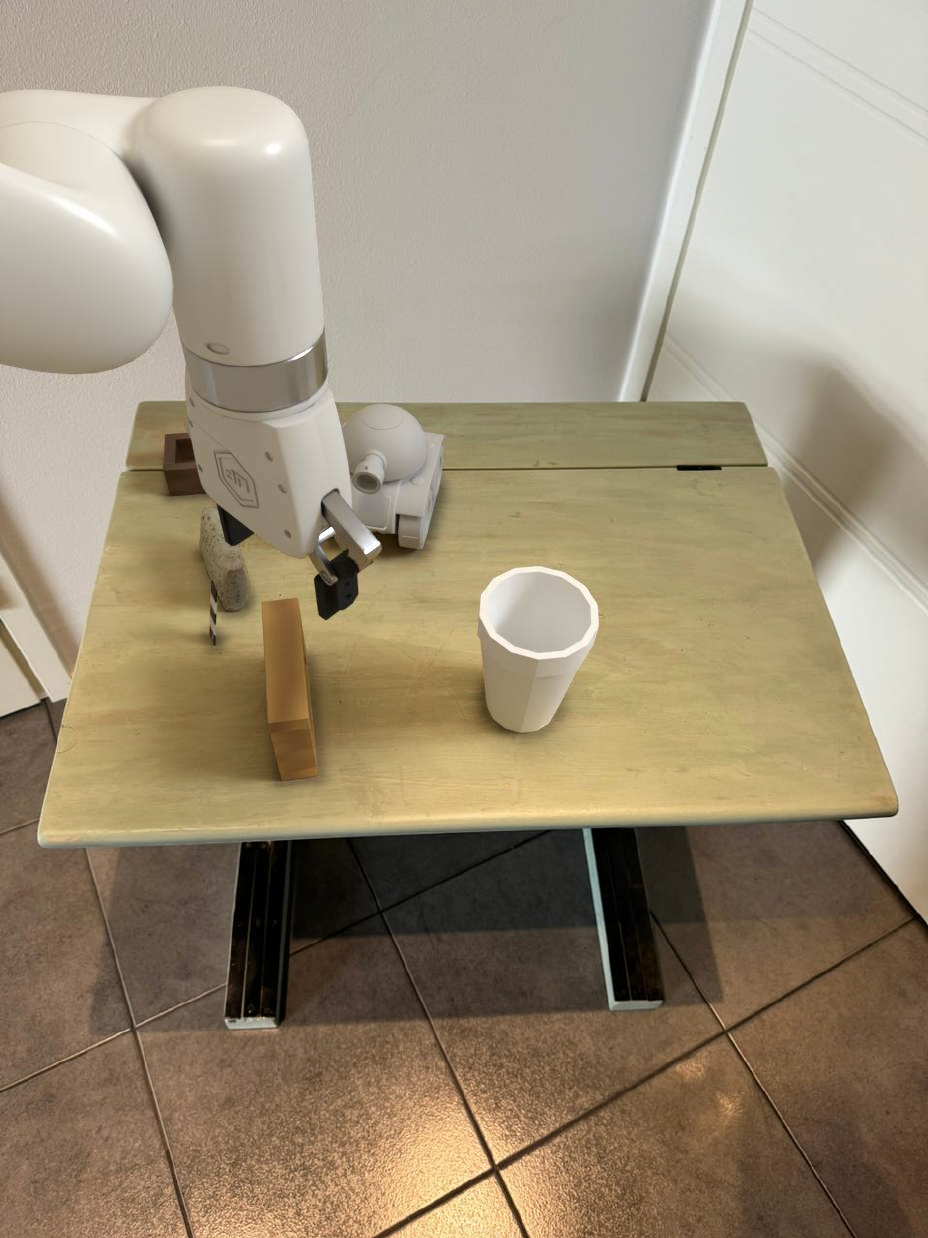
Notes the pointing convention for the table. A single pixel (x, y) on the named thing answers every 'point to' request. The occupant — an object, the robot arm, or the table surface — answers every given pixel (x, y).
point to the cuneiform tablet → (222, 567)
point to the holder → (181, 465)
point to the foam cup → (533, 643)
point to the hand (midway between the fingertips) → (291, 569)
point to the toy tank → (393, 472)
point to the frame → (288, 689)
